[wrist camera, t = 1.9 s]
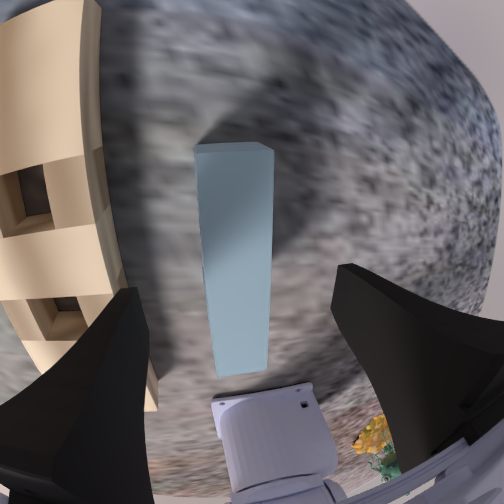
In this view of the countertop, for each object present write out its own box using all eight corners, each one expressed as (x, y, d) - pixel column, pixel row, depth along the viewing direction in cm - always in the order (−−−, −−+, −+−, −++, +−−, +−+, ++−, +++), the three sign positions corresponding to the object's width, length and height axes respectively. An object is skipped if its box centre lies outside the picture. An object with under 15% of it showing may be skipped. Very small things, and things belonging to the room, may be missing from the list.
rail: (102, 8, 9) (85, -10, 7) (158, 381, 21) (158, 411, 19) (-13, 52, 8) (-41, 49, 5) (73, 382, 20) (67, 409, 17)
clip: (239, 133, 14) (274, 150, 9) (242, 294, 19) (266, 369, 13) (193, 136, 14) (196, 153, 8) (205, 299, 19) (217, 377, 13)
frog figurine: (350, 458, 43) (376, 516, 30) (343, 417, 36) (382, 497, 22) (394, 437, 43) (425, 491, 30) (400, 389, 36) (447, 460, 23)
